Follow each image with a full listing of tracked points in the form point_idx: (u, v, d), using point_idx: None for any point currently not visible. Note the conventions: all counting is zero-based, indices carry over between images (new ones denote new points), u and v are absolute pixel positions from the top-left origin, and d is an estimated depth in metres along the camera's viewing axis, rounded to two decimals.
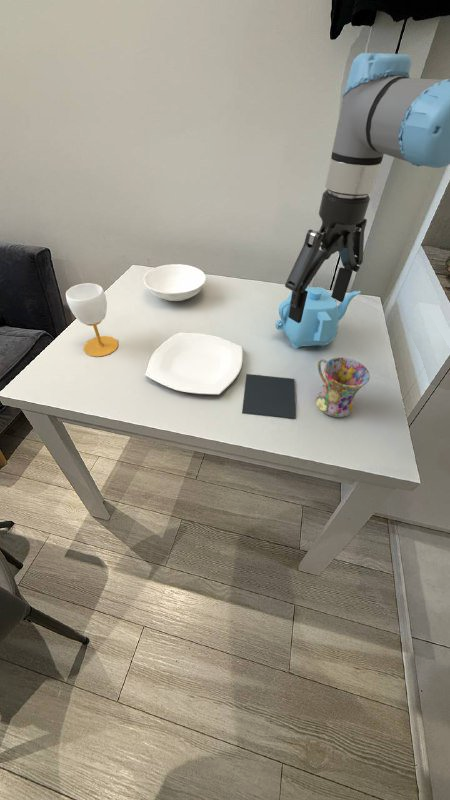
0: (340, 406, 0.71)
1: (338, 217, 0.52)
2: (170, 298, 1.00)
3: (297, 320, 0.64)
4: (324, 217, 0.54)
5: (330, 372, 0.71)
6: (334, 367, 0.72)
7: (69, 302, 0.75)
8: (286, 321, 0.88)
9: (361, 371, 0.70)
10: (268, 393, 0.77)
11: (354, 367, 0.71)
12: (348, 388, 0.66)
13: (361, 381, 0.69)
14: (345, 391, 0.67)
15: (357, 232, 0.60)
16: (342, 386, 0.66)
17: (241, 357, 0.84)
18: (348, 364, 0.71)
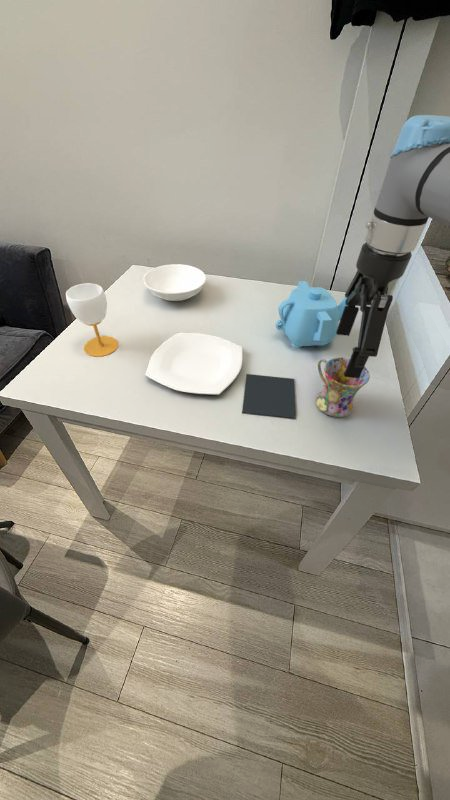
0: (340, 406, 0.71)
1: (397, 274, 0.51)
2: (170, 298, 1.00)
3: (357, 376, 0.61)
4: (380, 277, 0.51)
5: (330, 372, 0.71)
6: (334, 367, 0.72)
7: (69, 302, 0.75)
8: (286, 321, 0.88)
9: None
10: (268, 393, 0.77)
11: None
12: (348, 388, 0.66)
13: (361, 381, 0.69)
14: (345, 391, 0.67)
15: None
16: (342, 386, 0.66)
17: (241, 357, 0.84)
18: None
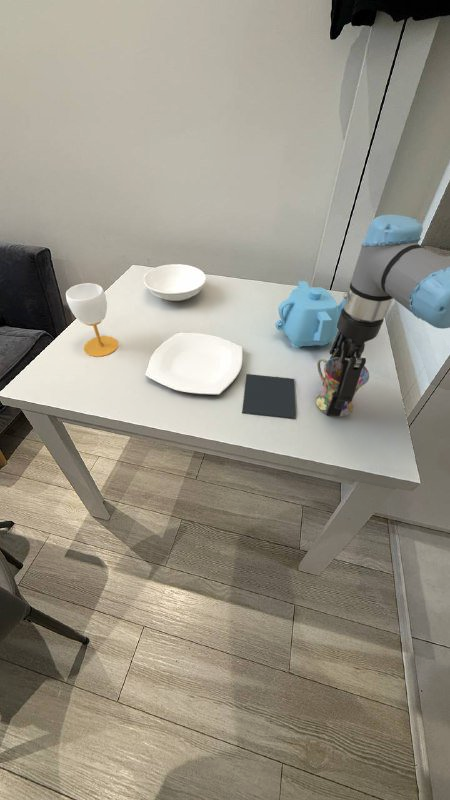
0: None
1: (371, 336, 0.59)
2: (170, 298, 1.00)
3: (338, 414, 0.71)
4: (357, 338, 0.59)
5: (330, 371, 0.72)
6: (334, 366, 0.72)
7: (69, 302, 0.75)
8: (286, 321, 0.88)
9: (361, 371, 0.70)
10: (268, 393, 0.77)
11: None
12: None
13: (361, 380, 0.69)
14: None
15: None
16: None
17: (241, 357, 0.84)
18: None
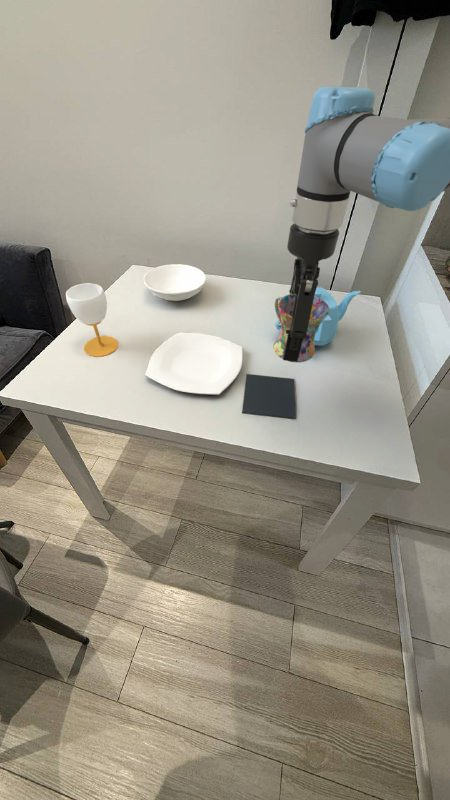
0: None
1: (324, 253, 0.50)
2: (170, 298, 1.00)
3: (295, 359, 0.63)
4: (307, 257, 0.50)
5: (287, 310, 0.63)
6: (291, 304, 0.63)
7: (69, 302, 0.75)
8: None
9: (321, 308, 0.61)
10: (268, 393, 0.77)
11: (314, 304, 0.62)
12: None
13: (320, 318, 0.60)
14: None
15: None
16: None
17: (241, 357, 0.84)
18: None
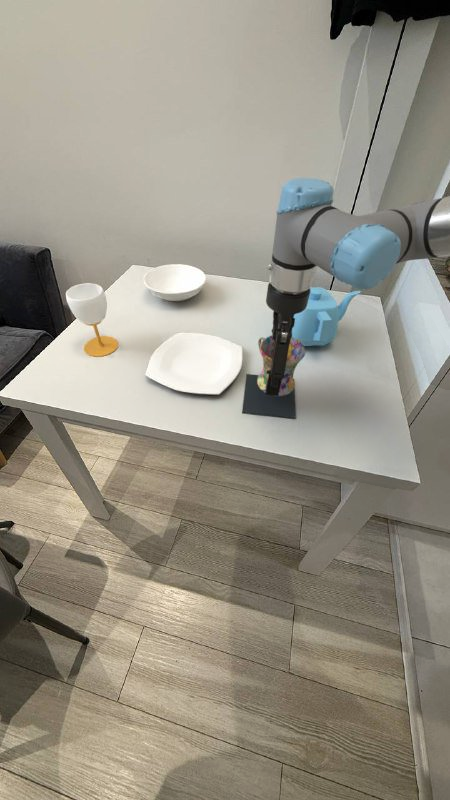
0: None
1: (297, 309, 0.57)
2: (170, 298, 1.00)
3: (276, 394, 0.70)
4: (283, 312, 0.57)
5: (268, 350, 0.70)
6: (273, 344, 0.70)
7: (69, 302, 0.75)
8: None
9: (298, 348, 0.68)
10: None
11: (292, 344, 0.69)
12: None
13: (298, 358, 0.67)
14: None
15: None
16: None
17: (241, 357, 0.84)
18: None
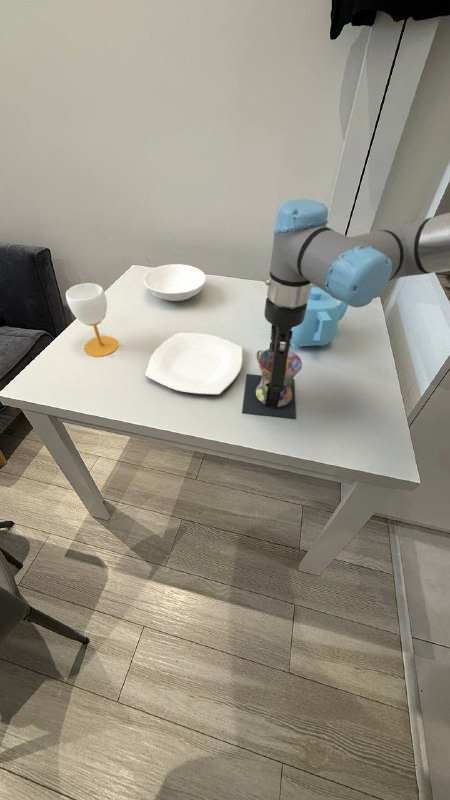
0: None
1: (294, 323, 0.59)
2: (170, 298, 1.00)
3: (276, 406, 0.69)
4: (280, 325, 0.59)
5: (266, 362, 0.72)
6: (270, 357, 0.73)
7: (69, 302, 0.75)
8: None
9: (295, 361, 0.71)
10: None
11: (289, 357, 0.72)
12: None
13: (294, 371, 0.70)
14: None
15: None
16: None
17: (241, 357, 0.84)
18: None
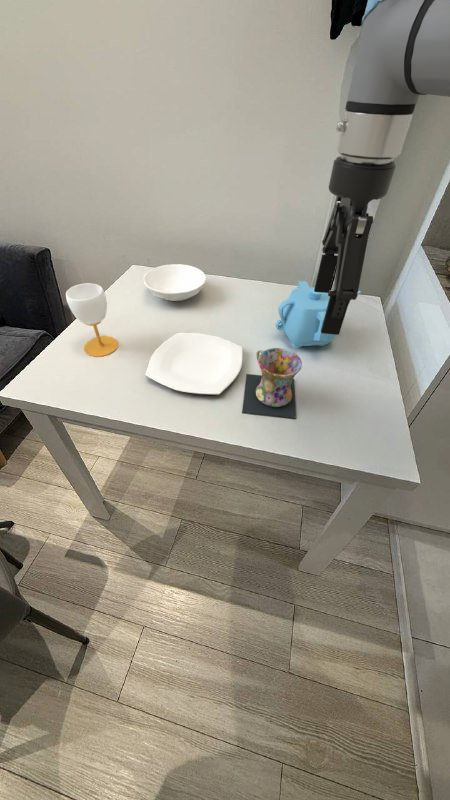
0: (275, 396, 0.72)
1: (378, 190, 0.40)
2: (170, 298, 1.00)
3: (337, 332, 0.50)
4: (357, 195, 0.40)
5: (266, 362, 0.73)
6: (270, 357, 0.73)
7: (69, 302, 0.75)
8: (286, 321, 0.88)
9: (295, 361, 0.71)
10: None
11: (289, 357, 0.72)
12: (279, 377, 0.67)
13: (294, 371, 0.70)
14: (277, 380, 0.68)
15: None
16: (273, 375, 0.67)
17: (241, 357, 0.84)
18: (284, 354, 0.72)
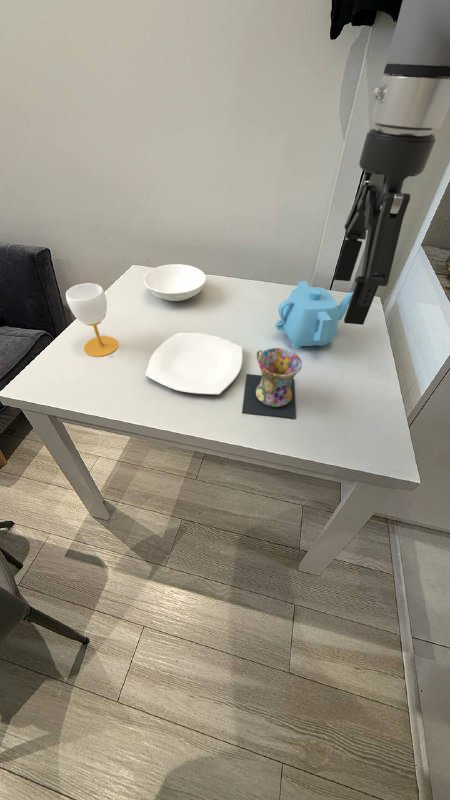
0: (275, 396, 0.72)
1: (415, 166, 0.37)
2: (170, 298, 1.00)
3: (361, 321, 0.47)
4: (392, 171, 0.37)
5: (266, 362, 0.73)
6: (270, 357, 0.73)
7: (69, 302, 0.75)
8: (286, 321, 0.88)
9: (295, 361, 0.71)
10: None
11: (289, 357, 0.72)
12: (279, 377, 0.67)
13: (294, 371, 0.70)
14: (277, 380, 0.68)
15: None
16: (273, 375, 0.67)
17: (241, 357, 0.84)
18: (284, 354, 0.72)
